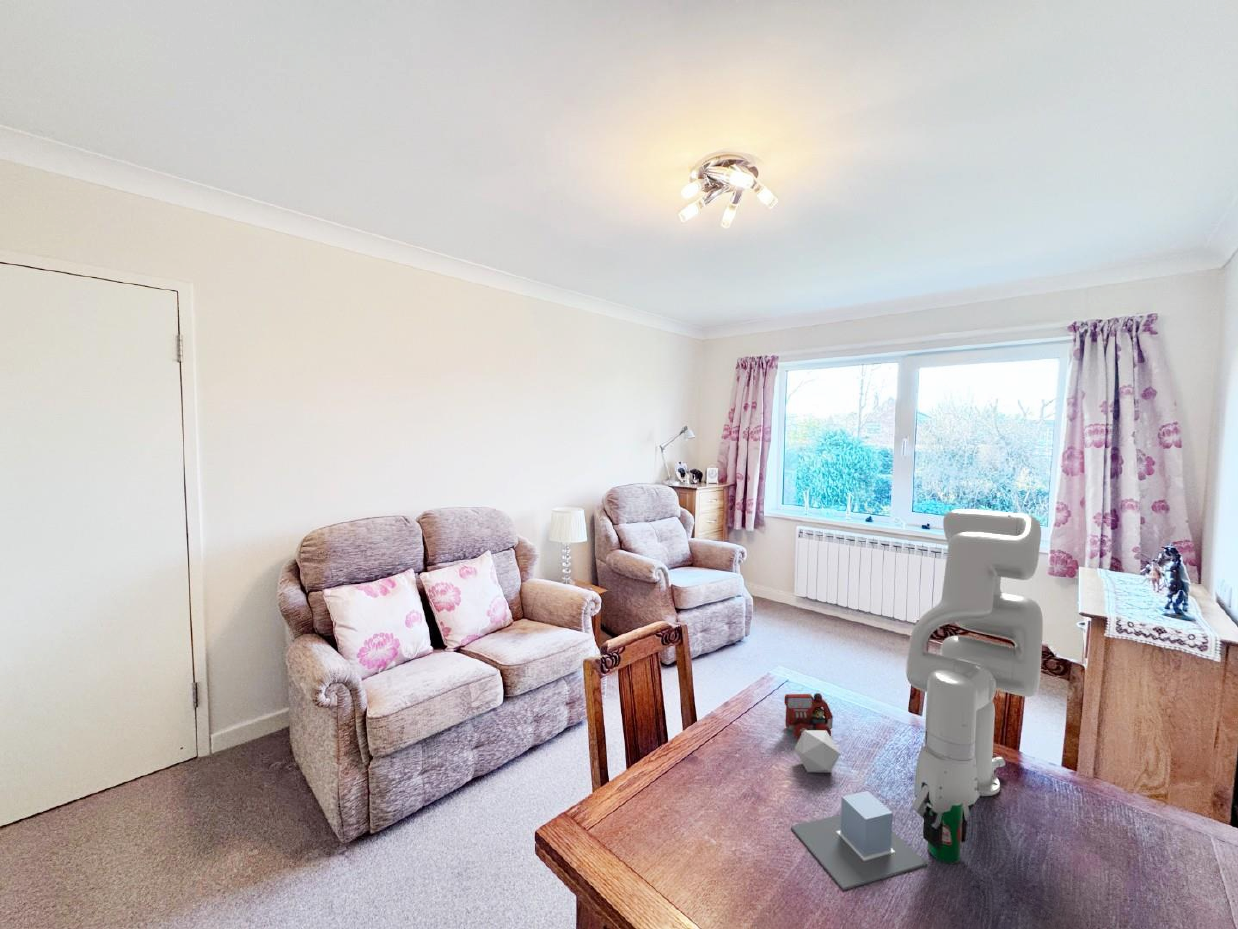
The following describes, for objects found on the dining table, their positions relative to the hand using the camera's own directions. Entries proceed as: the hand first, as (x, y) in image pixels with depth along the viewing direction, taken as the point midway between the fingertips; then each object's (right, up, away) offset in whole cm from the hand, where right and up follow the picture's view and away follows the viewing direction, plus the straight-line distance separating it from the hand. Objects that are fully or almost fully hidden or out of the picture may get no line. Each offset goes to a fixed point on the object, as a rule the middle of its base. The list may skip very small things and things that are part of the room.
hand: (944, 839), depth 92 cm
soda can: (0, -3, 0) cm, 3 cm away
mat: (-15, -3, +2) cm, 15 cm away
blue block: (-13, -2, +2) cm, 14 cm away
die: (-14, -2, +24) cm, 28 cm away
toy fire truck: (-11, -1, +38) cm, 39 cm away
